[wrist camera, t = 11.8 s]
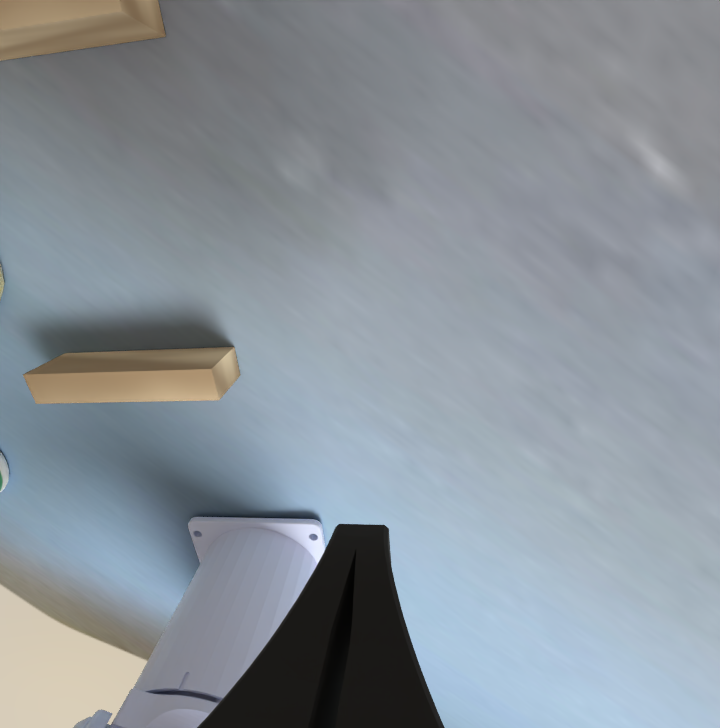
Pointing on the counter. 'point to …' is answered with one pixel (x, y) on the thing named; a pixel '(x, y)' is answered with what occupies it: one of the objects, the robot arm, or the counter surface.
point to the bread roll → (1, 282)
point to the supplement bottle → (3, 472)
